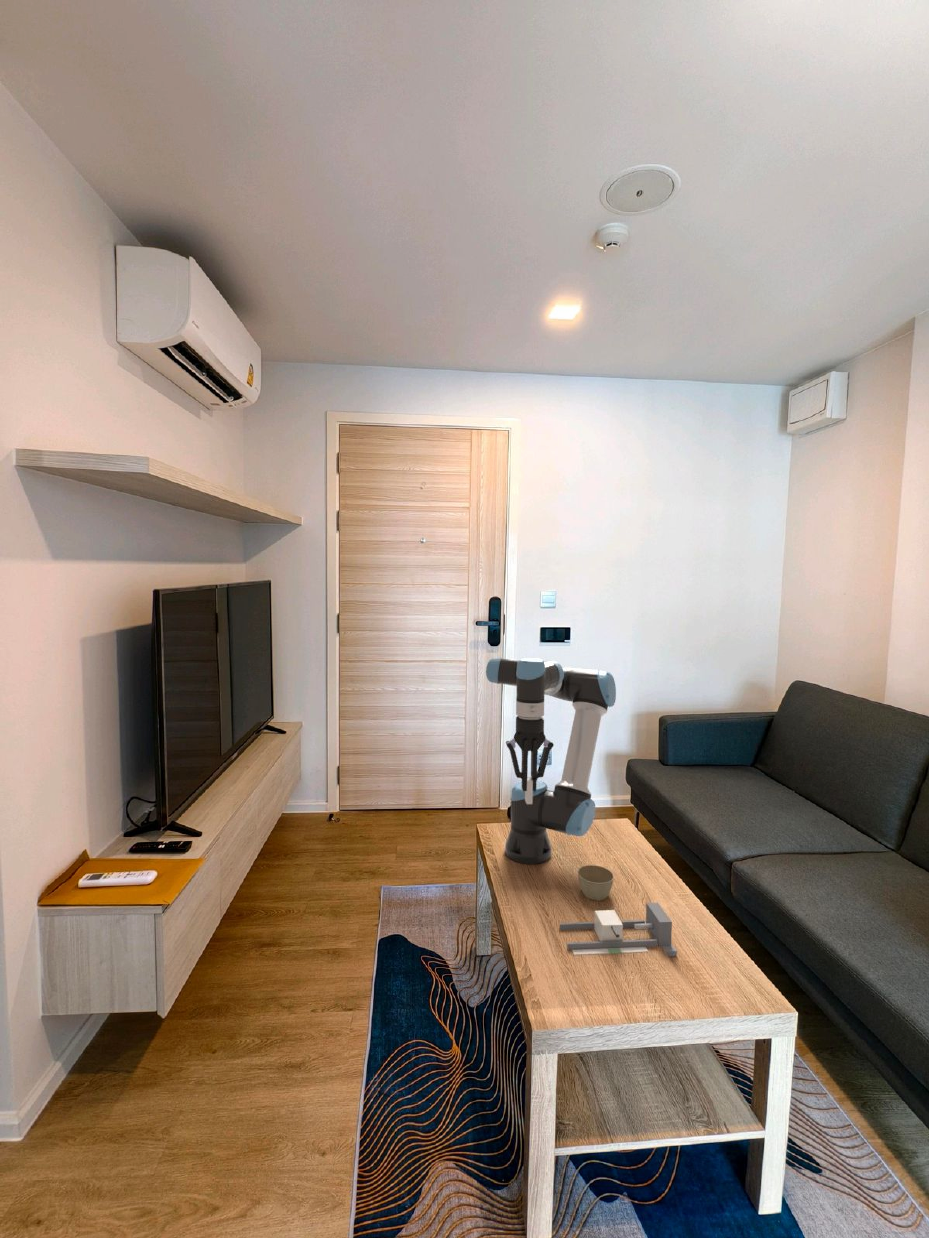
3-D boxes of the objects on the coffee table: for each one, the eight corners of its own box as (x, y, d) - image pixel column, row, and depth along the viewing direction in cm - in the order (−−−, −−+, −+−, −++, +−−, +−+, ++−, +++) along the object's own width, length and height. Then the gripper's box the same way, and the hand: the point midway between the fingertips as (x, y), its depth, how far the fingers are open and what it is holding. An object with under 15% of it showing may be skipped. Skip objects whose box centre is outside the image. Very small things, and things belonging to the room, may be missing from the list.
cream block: (594, 929, 138) (594, 910, 138) (613, 928, 139) (614, 909, 138) (606, 954, 129) (607, 934, 128) (627, 954, 129) (628, 933, 129)
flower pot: (614, 910, 149) (615, 885, 148) (577, 905, 151) (577, 880, 150) (612, 890, 158) (612, 866, 158) (576, 886, 160) (577, 862, 160)
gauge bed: (549, 928, 140) (550, 901, 140) (655, 924, 143) (656, 898, 142) (561, 960, 129) (561, 931, 128) (676, 955, 131) (677, 926, 130)
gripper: (508, 720, 143) (506, 808, 144) (557, 719, 144) (555, 807, 145) (503, 713, 150) (502, 797, 152) (550, 712, 151) (549, 796, 153)
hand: (528, 802), depth 148 cm, fingers closed
